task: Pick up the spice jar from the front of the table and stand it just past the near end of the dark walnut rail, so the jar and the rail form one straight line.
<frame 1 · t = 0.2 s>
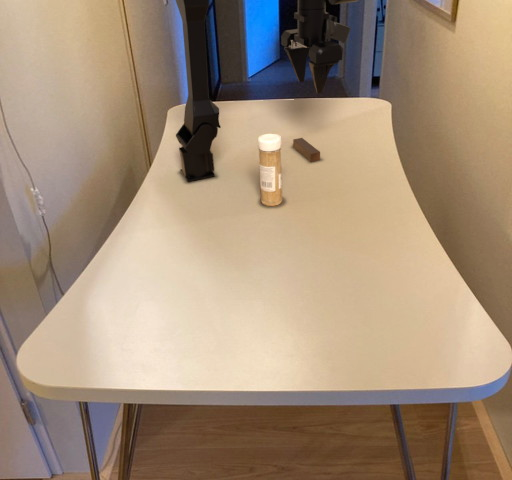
hand: (310, 87, 123), 15 cm above the table, tool pointing down, fingers open, 9 cm apart
spice jar: (271, 202, 114), on the table
walnut rail: (306, 153, 132), on the table
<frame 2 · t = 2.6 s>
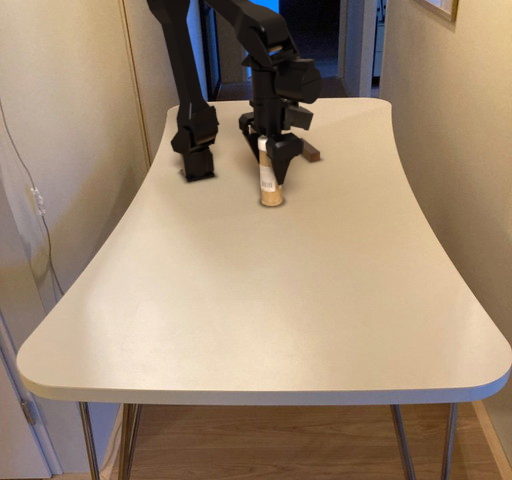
hand: (271, 176, 110), 6 cm above the table, tool pointing down
spice jar: (271, 202, 114), on the table, touching gripper
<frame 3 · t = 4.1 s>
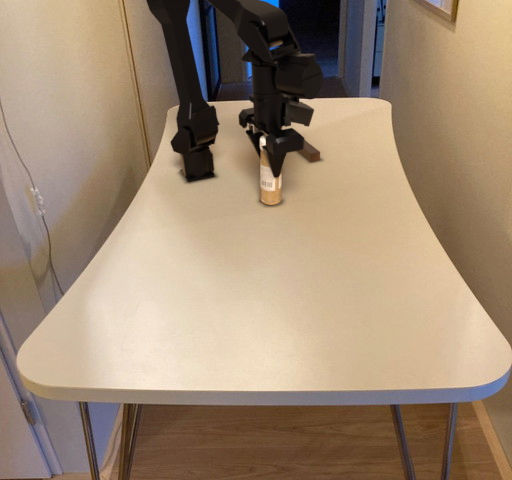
hand: (271, 172, 110), 6 cm above the table, tool pointing down, fingers closed on spice jar, 5 cm apart
spice jar: (270, 200, 114), on the table, touching gripper
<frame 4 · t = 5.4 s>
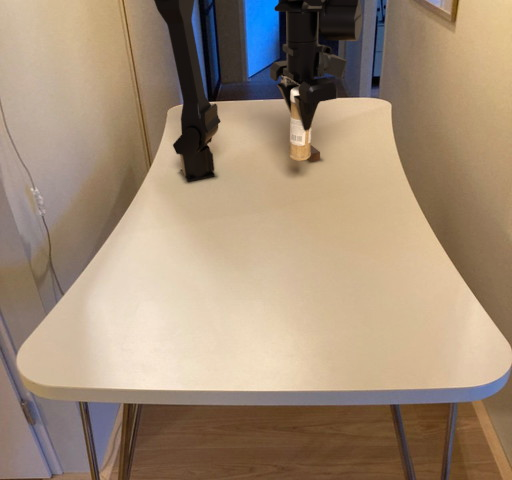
hand: (301, 125, 110), 13 cm above the table, tool pointing down, fingers closed on spice jar, 4 cm apart
spice jar: (299, 157, 114), point 6 cm above the table, touching gripper
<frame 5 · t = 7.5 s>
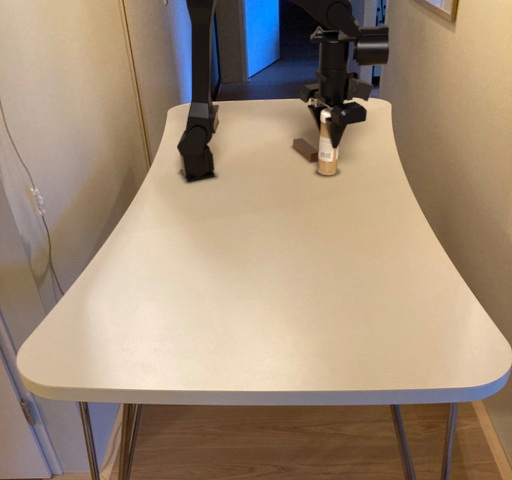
hand: (329, 144, 119), 6 cm above the table, tool pointing down, fingers closed on spice jar, 4 cm apart
spice jar: (326, 172, 123), on the table, touching gripper
when the fingers open (6 cm above the table, at t = 8.1 s): spice jar stays where it is, on the table.
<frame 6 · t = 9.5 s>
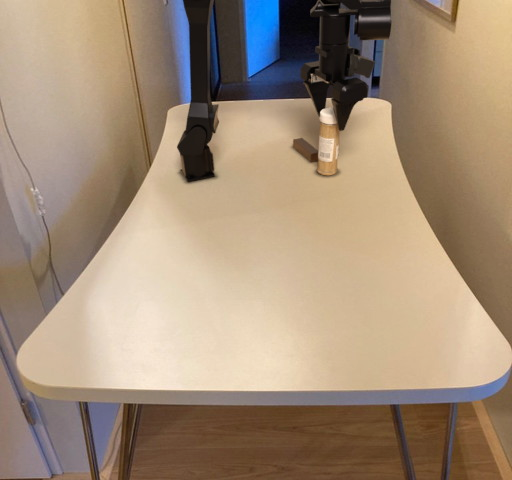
hand: (331, 123, 116), 11 cm above the table, tool pointing down, fingers open, 9 cm apart
spice jar: (326, 172, 123), on the table
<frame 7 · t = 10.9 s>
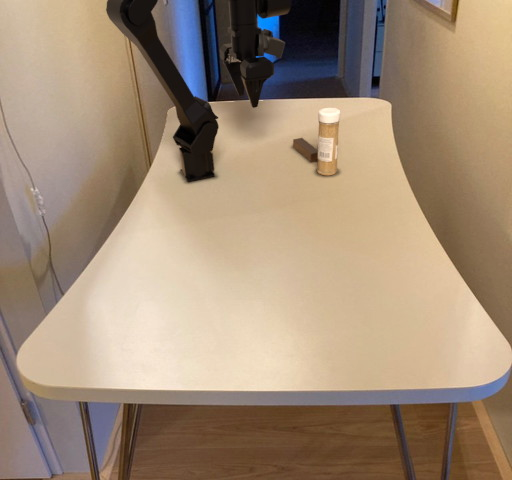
hand: (247, 101, 123), 13 cm above the table, tool pointing down, fingers open, 9 cm apart
nothing on the table moved.
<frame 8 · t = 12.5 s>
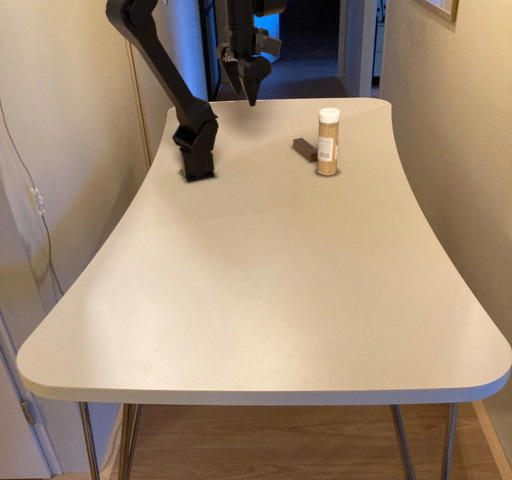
hand: (245, 100, 123), 13 cm above the table, tool pointing down, fingers open, 9 cm apart
nothing on the table moved.
at the end: spice jar 0.7 cm from the target spot on the table beside the walnut rail, on the table; spice jar tilted 1°; the gripper is holding nothing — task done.
